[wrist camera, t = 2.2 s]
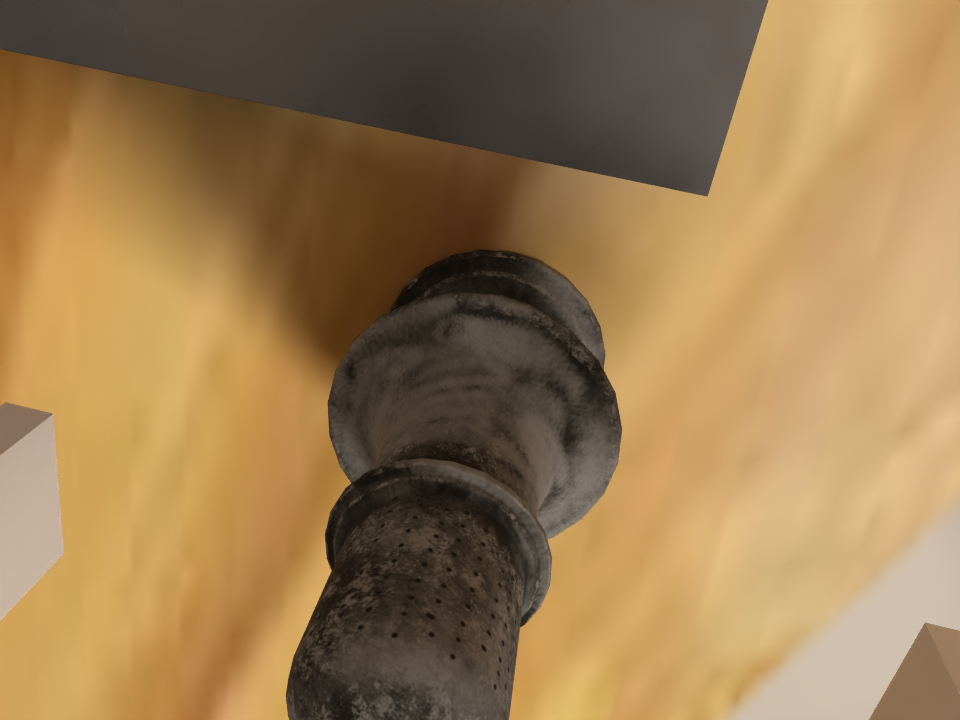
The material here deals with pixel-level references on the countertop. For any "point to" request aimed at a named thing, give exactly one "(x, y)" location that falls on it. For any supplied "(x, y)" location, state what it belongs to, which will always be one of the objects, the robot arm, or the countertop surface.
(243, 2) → the plate
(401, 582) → the salt shaker
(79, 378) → the countertop surface
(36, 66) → the countertop surface
